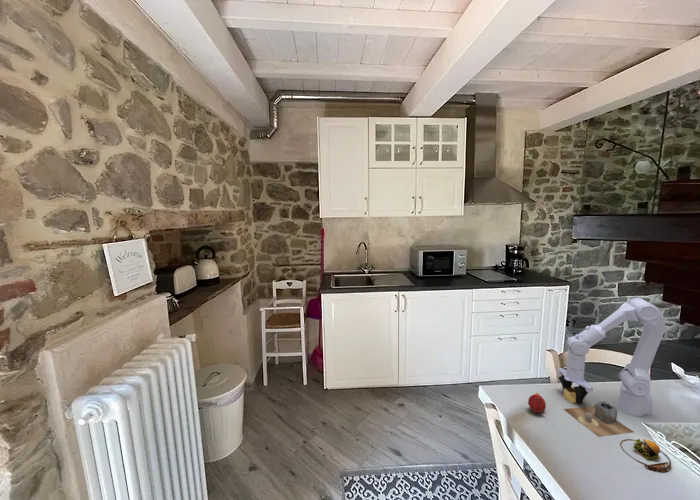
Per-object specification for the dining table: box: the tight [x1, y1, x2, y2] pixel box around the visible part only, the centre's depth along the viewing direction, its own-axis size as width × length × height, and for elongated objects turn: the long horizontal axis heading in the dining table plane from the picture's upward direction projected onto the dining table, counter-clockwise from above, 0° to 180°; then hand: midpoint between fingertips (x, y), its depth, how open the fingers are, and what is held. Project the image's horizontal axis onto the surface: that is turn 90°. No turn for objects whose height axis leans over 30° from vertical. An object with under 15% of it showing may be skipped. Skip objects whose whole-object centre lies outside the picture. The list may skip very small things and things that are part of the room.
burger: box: [620, 438, 672, 473], centre depth 99 cm, size 12×12×8 cm
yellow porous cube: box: [563, 386, 577, 404], centre depth 127 cm, size 5×5×5 cm
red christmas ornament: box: [527, 392, 547, 414], centre depth 121 cm, size 6×6×8 cm
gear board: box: [562, 405, 634, 438], centre depth 115 cm, size 14×15×4 cm
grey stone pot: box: [594, 401, 618, 424], centre depth 115 cm, size 5×5×5 cm
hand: (572, 398), depth 127 cm, fingers closed on yellow porous cube, 5 cm apart
